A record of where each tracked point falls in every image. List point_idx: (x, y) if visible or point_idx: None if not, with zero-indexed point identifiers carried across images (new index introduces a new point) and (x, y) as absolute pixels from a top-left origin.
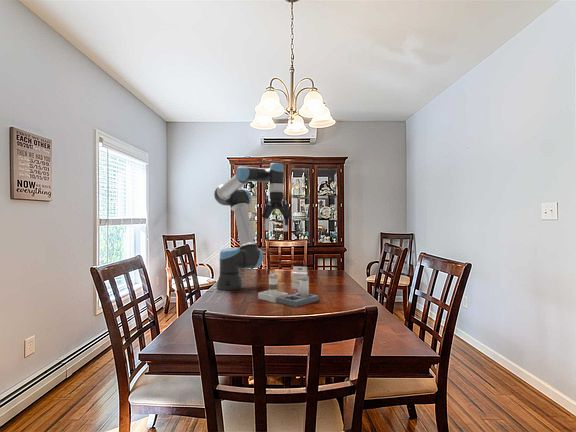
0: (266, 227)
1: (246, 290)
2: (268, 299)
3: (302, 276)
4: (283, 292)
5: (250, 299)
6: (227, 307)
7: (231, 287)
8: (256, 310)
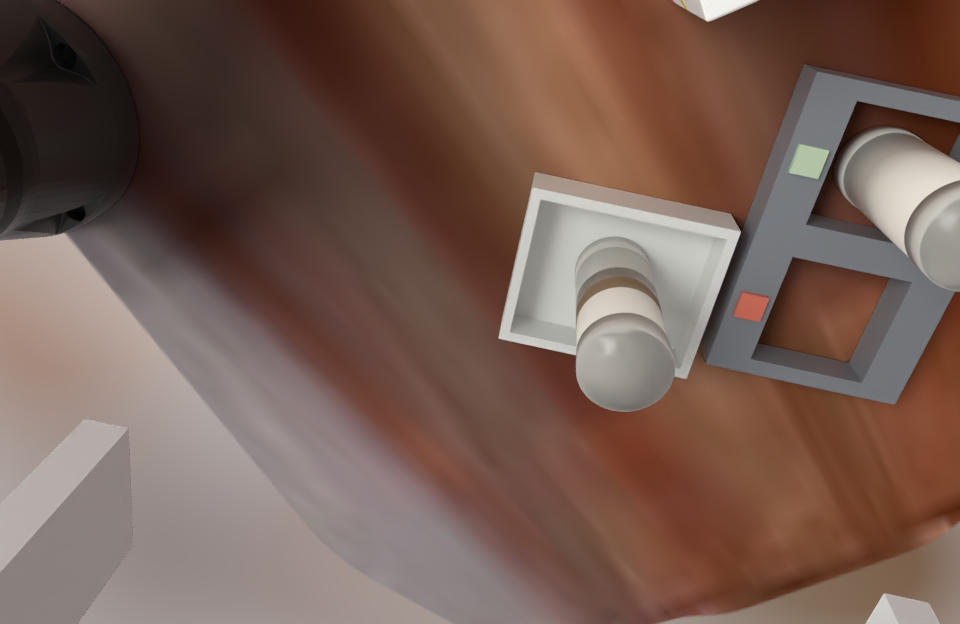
0: (80, 606)
1: (217, 114)
2: None
3: (950, 241)
4: (687, 225)
5: (469, 358)
6: (481, 562)
7: (112, 198)
8: (670, 545)
